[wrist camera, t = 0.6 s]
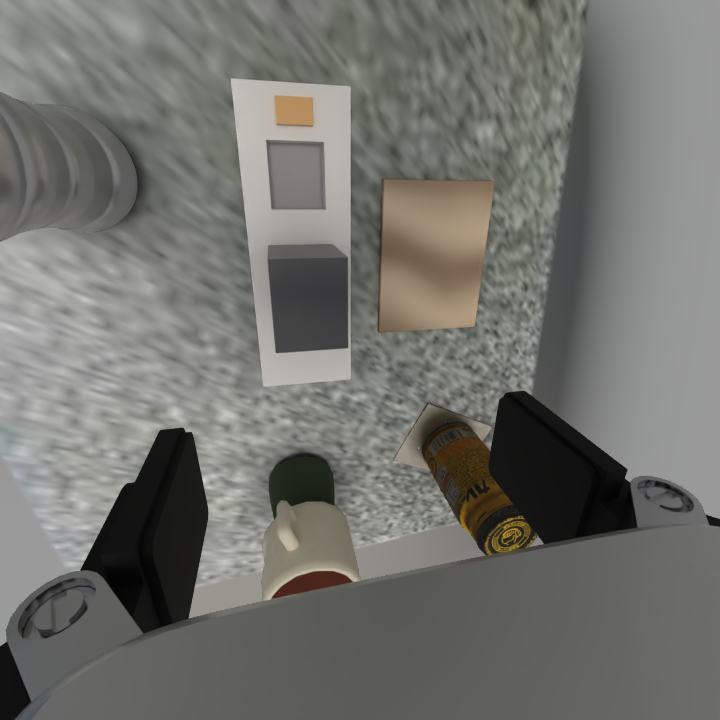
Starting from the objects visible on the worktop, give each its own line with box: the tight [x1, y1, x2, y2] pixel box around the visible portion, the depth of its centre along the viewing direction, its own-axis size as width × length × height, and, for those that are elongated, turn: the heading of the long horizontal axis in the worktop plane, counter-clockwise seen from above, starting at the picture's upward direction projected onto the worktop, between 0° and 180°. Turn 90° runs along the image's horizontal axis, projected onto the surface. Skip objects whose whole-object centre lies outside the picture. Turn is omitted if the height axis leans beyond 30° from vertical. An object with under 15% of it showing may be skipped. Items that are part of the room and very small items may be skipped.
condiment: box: [394, 404, 537, 555], centre depth 35 cm, size 7×8×12 cm
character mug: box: [261, 457, 361, 601], centre depth 32 cm, size 11×7×13 cm, turn 19°
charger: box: [267, 244, 348, 353], centre depth 25 cm, size 6×4×7 cm
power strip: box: [231, 78, 351, 387], centre depth 27 cm, size 20×7×4 cm, turn 0°
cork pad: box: [378, 179, 495, 333], centre depth 31 cm, size 12×9×1 cm
